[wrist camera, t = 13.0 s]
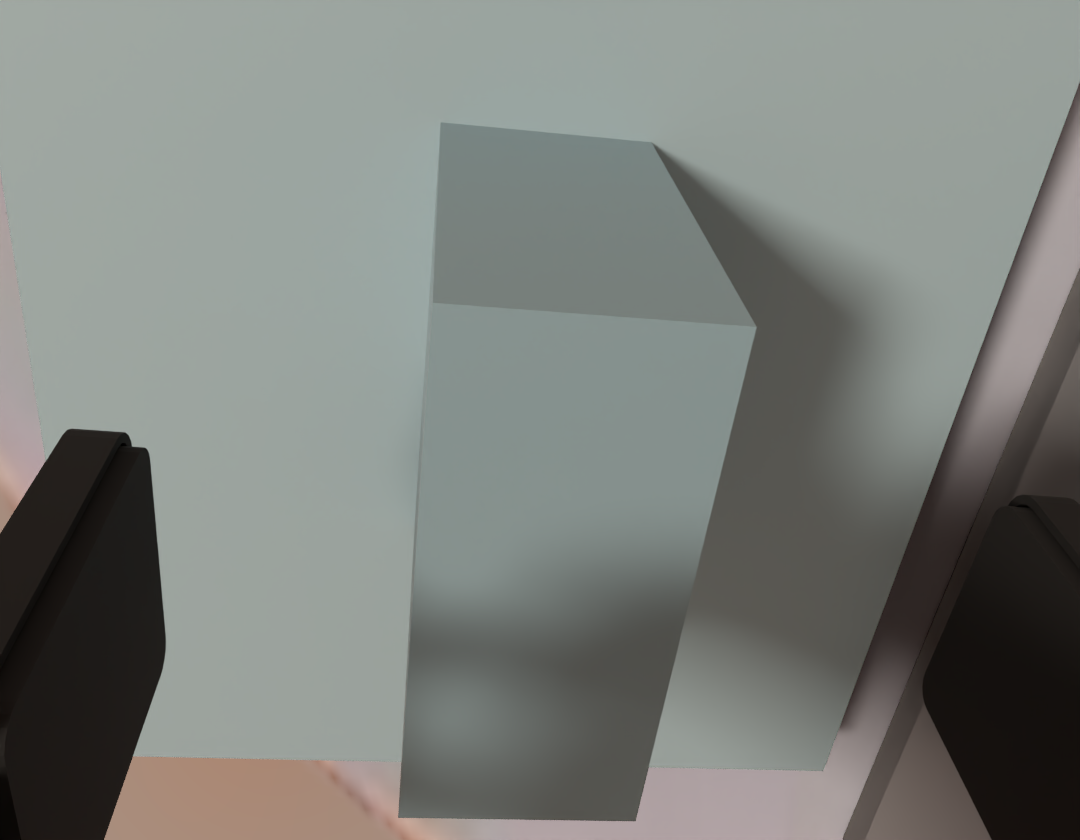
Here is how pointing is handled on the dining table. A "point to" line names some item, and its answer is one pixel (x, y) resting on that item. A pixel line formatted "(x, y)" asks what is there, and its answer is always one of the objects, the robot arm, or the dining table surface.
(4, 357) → the dining table surface
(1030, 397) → the tub
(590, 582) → the lid
